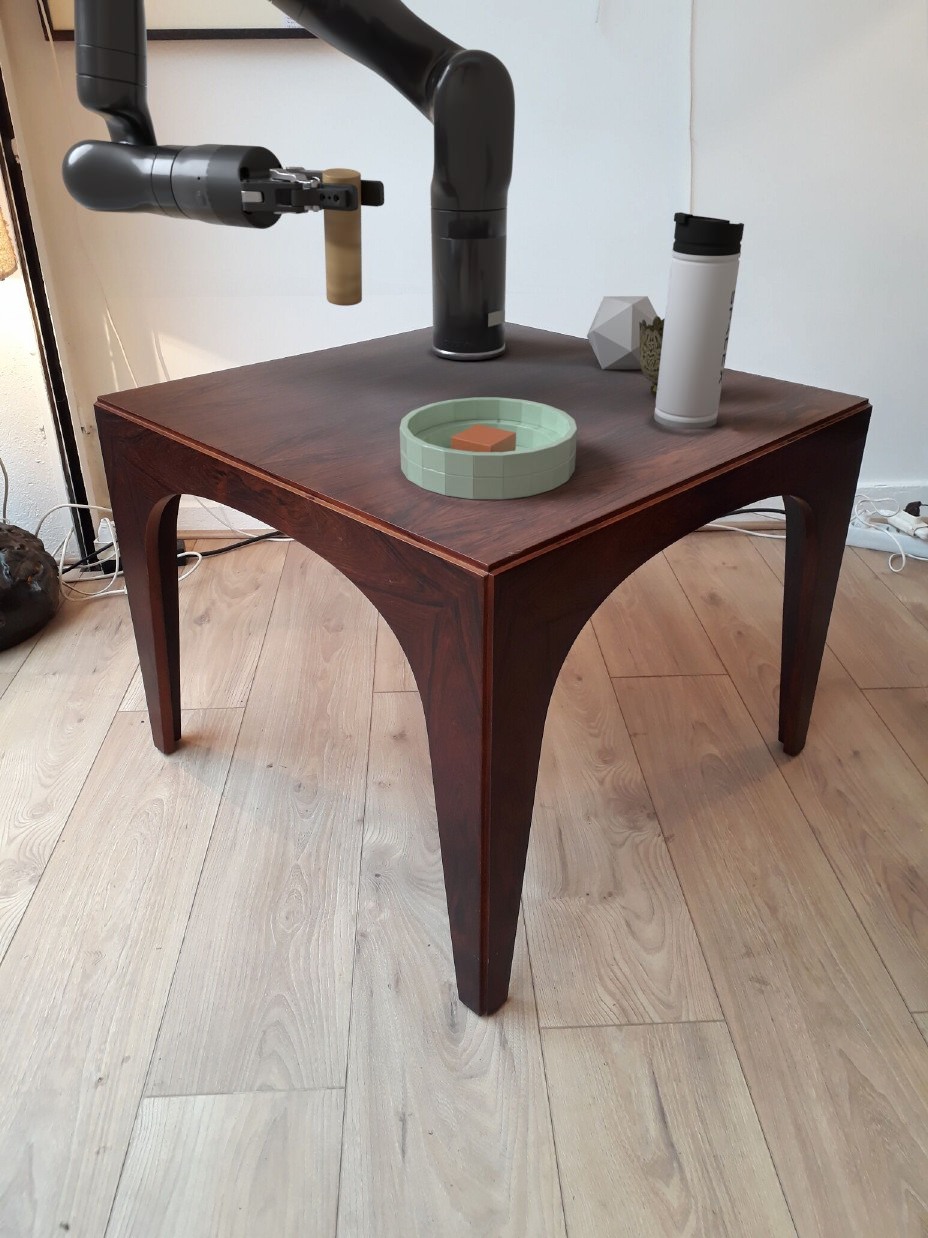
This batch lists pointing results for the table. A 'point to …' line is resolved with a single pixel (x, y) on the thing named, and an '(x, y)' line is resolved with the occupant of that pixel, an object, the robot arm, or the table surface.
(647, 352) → the cup
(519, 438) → the bowl
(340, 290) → the wooden cylinder
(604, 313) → the die
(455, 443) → the block
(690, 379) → the travel mug
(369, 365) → the table surface
